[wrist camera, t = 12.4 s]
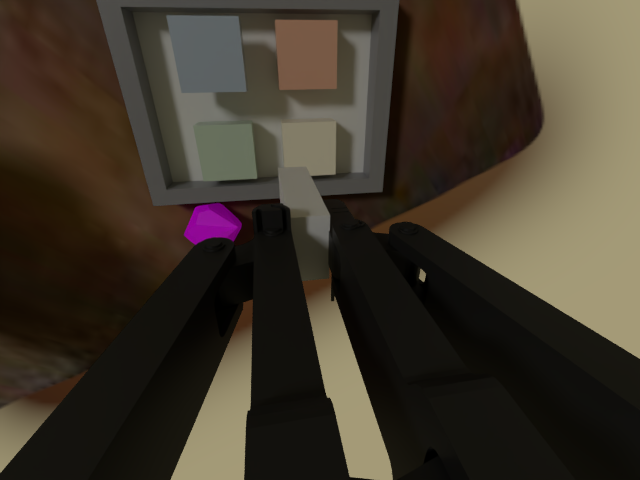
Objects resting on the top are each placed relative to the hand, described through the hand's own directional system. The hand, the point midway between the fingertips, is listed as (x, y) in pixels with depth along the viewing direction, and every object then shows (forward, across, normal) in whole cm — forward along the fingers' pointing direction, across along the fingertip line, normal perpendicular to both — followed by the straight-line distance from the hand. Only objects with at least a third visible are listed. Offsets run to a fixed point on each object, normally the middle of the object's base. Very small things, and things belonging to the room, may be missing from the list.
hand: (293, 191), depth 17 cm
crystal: (+19, -8, -10) cm, 23 cm away
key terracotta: (+17, +3, +7) cm, 19 cm away
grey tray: (+18, -1, +3) cm, 19 cm away
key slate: (+16, -5, +7) cm, 18 cm away
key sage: (+18, -5, -1) cm, 18 cm away
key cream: (+17, +3, -1) cm, 18 cm away
